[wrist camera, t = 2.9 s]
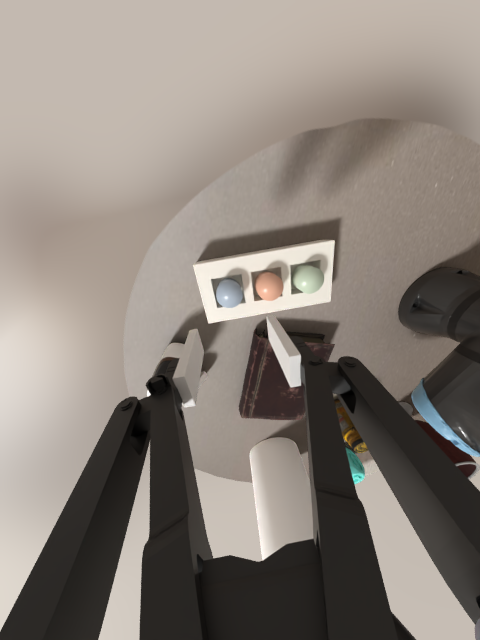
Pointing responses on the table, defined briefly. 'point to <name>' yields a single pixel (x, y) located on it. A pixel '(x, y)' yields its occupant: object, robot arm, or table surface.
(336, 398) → the condiment
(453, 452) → the mate gourd
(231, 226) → the table surface
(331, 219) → the table surface
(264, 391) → the diary
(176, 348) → the spread jar
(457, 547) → the robot arm
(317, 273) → the sage button
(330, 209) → the table surface
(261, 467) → the cylinder
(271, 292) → the terracotta button
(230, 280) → the slate button
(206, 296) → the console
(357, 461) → the decorative dice
